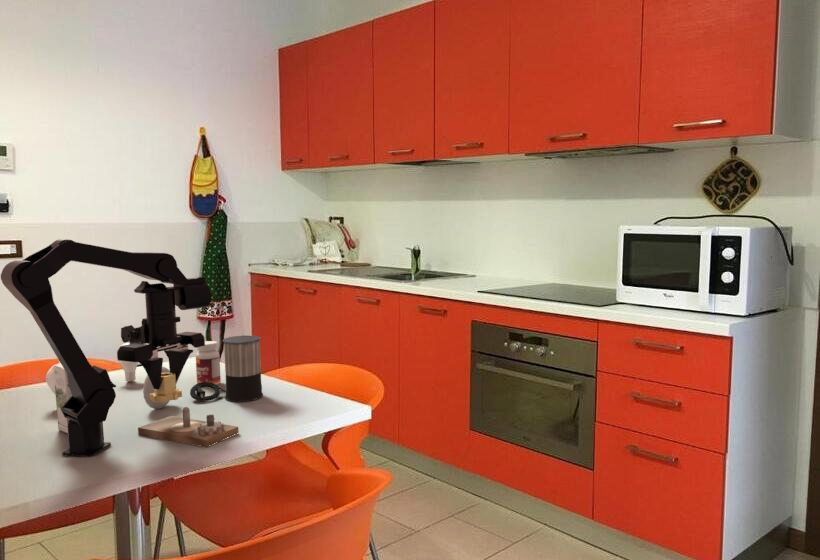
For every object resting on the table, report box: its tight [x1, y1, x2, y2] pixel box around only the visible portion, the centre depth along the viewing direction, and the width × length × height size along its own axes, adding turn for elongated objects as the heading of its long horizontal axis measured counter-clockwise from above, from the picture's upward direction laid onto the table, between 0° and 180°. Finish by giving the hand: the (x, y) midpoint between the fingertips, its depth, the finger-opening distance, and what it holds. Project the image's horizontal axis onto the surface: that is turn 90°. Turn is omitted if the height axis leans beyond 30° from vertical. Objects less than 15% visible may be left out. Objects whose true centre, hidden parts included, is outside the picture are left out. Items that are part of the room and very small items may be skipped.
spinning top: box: [45, 358, 60, 396], centre depth 164 cm, size 8×8×12 cm
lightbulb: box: [115, 342, 139, 383], centre depth 187 cm, size 6×6×11 cm
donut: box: [142, 365, 170, 410], centre depth 161 cm, size 10×4×10 cm, turn 168°
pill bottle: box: [195, 340, 222, 386], centre depth 183 cm, size 6×6×11 cm
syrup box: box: [52, 362, 92, 435], centre depth 145 cm, size 6×6×14 cm
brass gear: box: [150, 373, 183, 402], centre depth 143 cm, size 6×6×5 cm
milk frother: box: [189, 334, 264, 403], centre depth 168 cm, size 14×16×15 cm
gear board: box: [137, 406, 240, 448], centre depth 141 cm, size 19×9×6 cm, turn 63°
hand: (165, 386), depth 143 cm, fingers closed on brass gear, 4 cm apart
